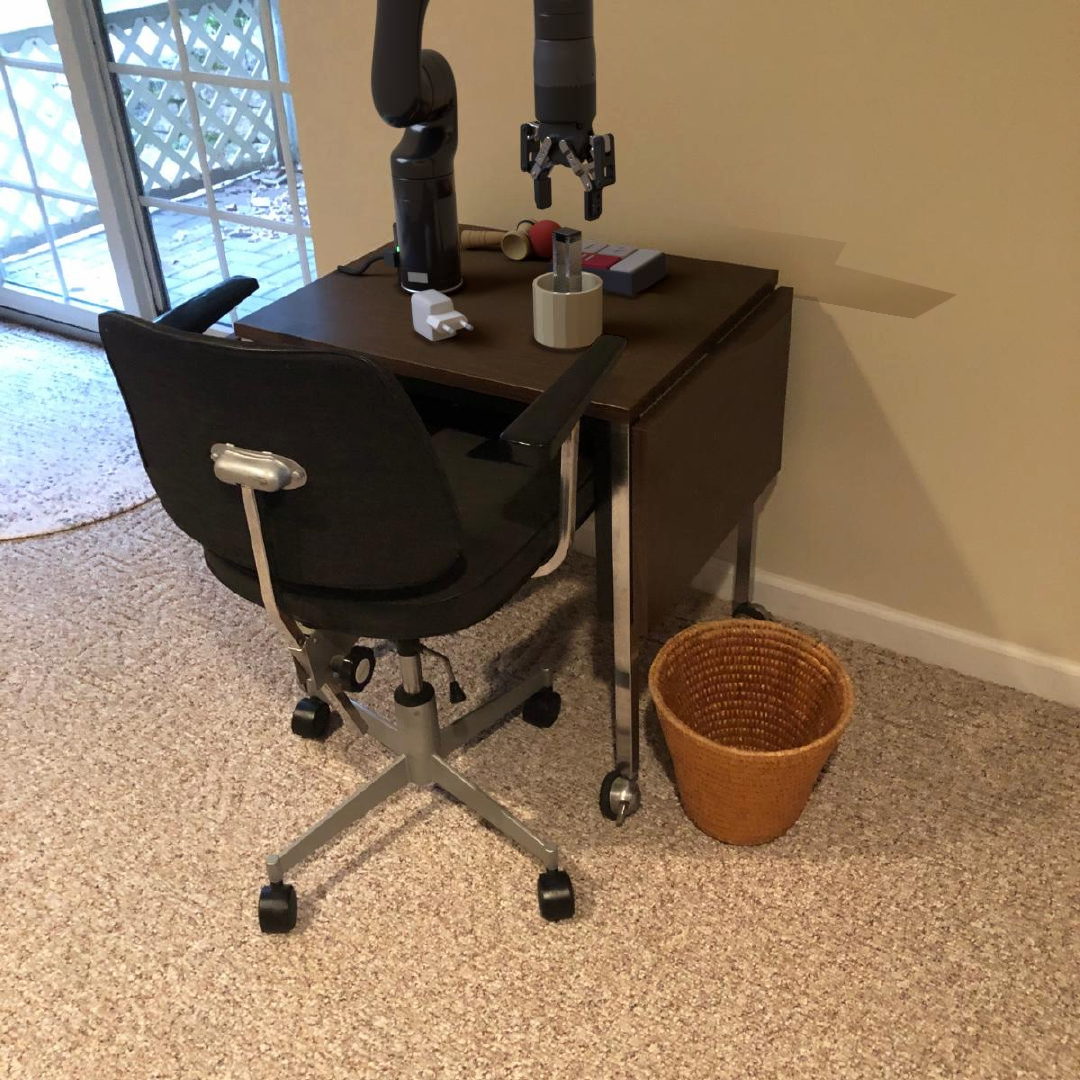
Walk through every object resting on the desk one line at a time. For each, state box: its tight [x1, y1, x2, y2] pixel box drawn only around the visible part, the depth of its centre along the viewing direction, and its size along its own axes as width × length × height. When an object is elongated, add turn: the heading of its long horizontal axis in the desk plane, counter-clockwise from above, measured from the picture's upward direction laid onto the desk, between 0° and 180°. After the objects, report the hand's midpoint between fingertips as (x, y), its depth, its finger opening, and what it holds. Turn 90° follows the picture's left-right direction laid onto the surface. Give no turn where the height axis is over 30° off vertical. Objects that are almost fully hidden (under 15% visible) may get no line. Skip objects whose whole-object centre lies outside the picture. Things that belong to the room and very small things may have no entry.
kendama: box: [460, 217, 563, 261], centre depth 176 cm, size 8×6×18 cm
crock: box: [532, 271, 604, 349], centre depth 144 cm, size 9×9×8 cm
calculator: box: [546, 241, 667, 296], centre depth 164 cm, size 11×4×15 cm
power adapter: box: [410, 289, 474, 342], centre depth 145 cm, size 11×5×6 cm, turn 34°
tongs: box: [552, 226, 583, 293], centre depth 142 cm, size 3×3×14 cm
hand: (567, 213), depth 137 cm, fingers open, 8 cm apart
